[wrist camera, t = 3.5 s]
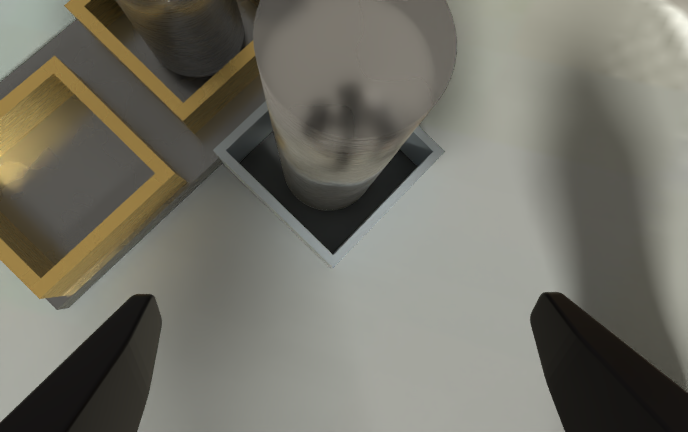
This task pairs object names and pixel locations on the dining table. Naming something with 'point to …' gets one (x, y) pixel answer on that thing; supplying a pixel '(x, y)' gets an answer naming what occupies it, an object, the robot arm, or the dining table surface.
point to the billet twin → (188, 32)
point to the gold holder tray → (106, 145)
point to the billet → (349, 86)
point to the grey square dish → (236, 150)
